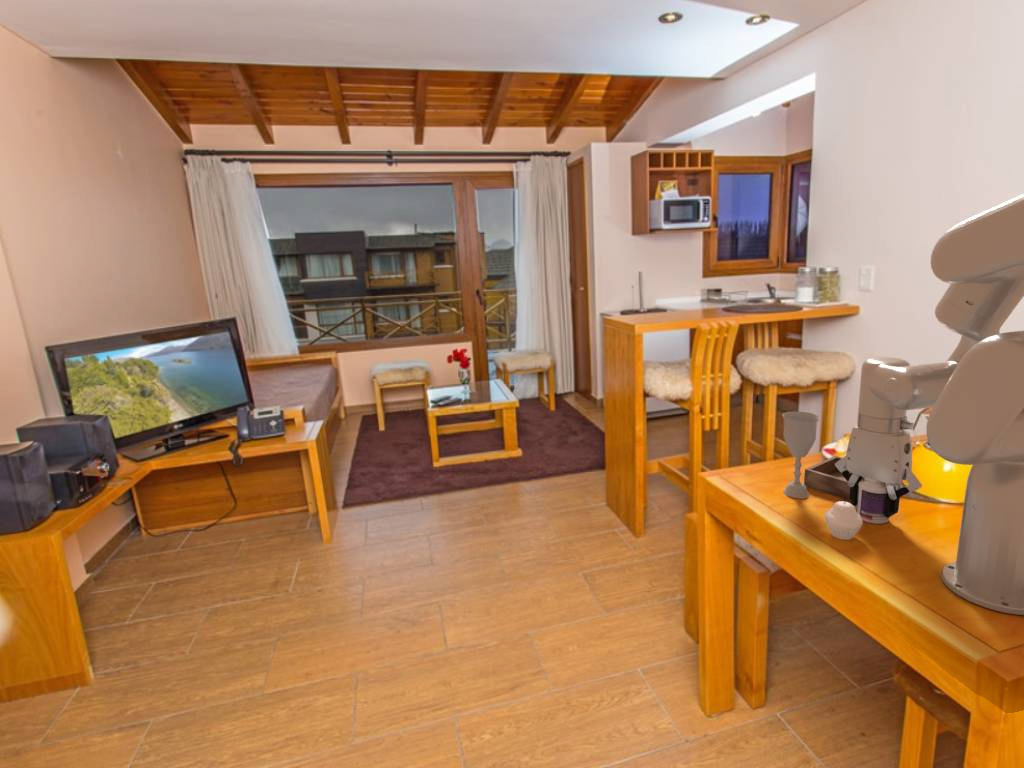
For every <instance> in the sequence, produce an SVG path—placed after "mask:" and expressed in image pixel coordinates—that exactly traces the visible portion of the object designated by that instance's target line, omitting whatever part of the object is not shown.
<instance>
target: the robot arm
mask: <svg viewBox="0 0 1024 768" xmlns="http://www.w3.org/2000/svg"><path fill="white" fill-rule="evenodd" d="M930 267H931V270H932V272H933V275H935V277H936V278H937V279H938V280H940V281H942V282H943V283H946V284H949V286H948V288H947V289H946V290H945V292H944V294H943V295H942V296H941V299H940V300H939V301H938V303H937V305H936V306H935V309H934V314H935V318H936V319H937V321H938V322H939V323H941V325H942V326H943V327H945V328H947V329H948V330H950V331H951V332H953V333H955V334H958V335H961V338H960V340H959V343H958V344H957V346H956V347H955V349H954V350H953V352H952V353H951V354H950V356H949V358H948V359H947V360H946V361H944V362H935V363H933V362H932V363H925V364H917V365H911V364H910V362H908V361H907V360H905V359H902V358H897V357H887V356H885V357H884V356H883V357H882V356H881V357H872V358H868V359H866V360H865V361H864V362H863V363H862V366H861V372H860V383H859V384H860V385H859V386H860V387H859V395H858V410H857V423H856V424H854V425H853V427H852V429H851V433H850V436H849V440H848V443H847V448H846V454H845V456H843V457H842V459H841V460H839V461H838V462H836V463H835V466H836V467H837V469H838V470H839V471H840V472H841V473H842V475H843V476H844V478H845V479H846V480H847V482H848V485H849V486H850V497H849V498H850V499H851V501H850V503H851V504H852V505H853V506H854V507H857V496H858V485H859V482H860V481H861V480H862V479H863V477H866V478H870V479H874V480H877V481H879V482H883V483H886V486H887V490H888V494H889V497H887V498H886V500H885V510H884V516H885V517H887V518H889V519H890V518H891V517H892V516H894V515H897V513H898V512H899V510H900V509H899V508H900V499H901V497H903V496H905V495H908V494H910V493H912V492H915V491H917V490H919V489H921V488H922V487H923V484H922V483H921V481H920V480H919V479H918V477H917V476H916V475H915V473H914V472H913V447H912V438H911V434H910V431H907V430H911V431H912V430H913V429H914V426H915V425H914V424H915V423H914V422H910V421H909V420H908V416H907V411H913V410H921V409H923V410H924V409H929V408H931V410H930V413H929V415H928V418H927V422H926V438H927V441H928V444H929V446H930V448H931V449H932V450H933V452H934V453H935V454H936V455H937V456H938V457H940V458H942V459H943V460H945V461H947V462H950V463H952V464H956V465H965V466H971V468H970V470H969V473H968V476H967V481H966V487H965V491H964V500H963V506H962V508H963V509H962V516H961V522H960V530H959V536H958V537H959V538H958V545H957V552H956V559H955V561H953V562H949V563H948V564H945V566H943V567H942V570H941V580H942V582H943V583H944V585H945V586H946V587H947V588H948V589H949V590H950V591H952V592H953V593H954V594H955V595H957V596H959V597H961V598H963V600H964V599H965V600H966V601H968V602H971V603H972V604H975V605H977V606H980V607H983V608H984V609H985V608H986V609H989V610H992V611H996V612H999V613H1004V614H1009V615H1010V614H1011V615H1016V616H1018V615H1019V616H1024V330H1015V331H1008V332H1007V331H1006V332H1002V333H1000V331H1001V328H1002V326H1003V325H1004V324H1005V323H1006V321H1007V320H1008V319H1009V317H1010V316H1011V314H1012V312H1013V311H1014V310H1015V308H1016V307H1017V306H1018V304H1020V302H1021V300H1022V299H1023V297H1024V193H1022V194H1020V195H1018V196H1016V197H1014V198H1012V199H1010V200H1007V201H1005V202H1002V203H1001V204H998V205H997V206H995V207H992V208H990V209H988V210H985V211H983V212H980V213H979V214H976V215H974V216H971V217H969V218H967V219H965V220H963V221H961V222H959V223H957V224H956V225H954V226H953V227H951V228H949V229H947V231H946V232H945V233H944V234H942V236H941V237H940V238H939V239H938V240H937V242H936V243H935V245H934V247H933V249H932V252H931V255H930ZM902 481H906V482H907V483H908V485H905V486H903V487H902Z"/></svg>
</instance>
